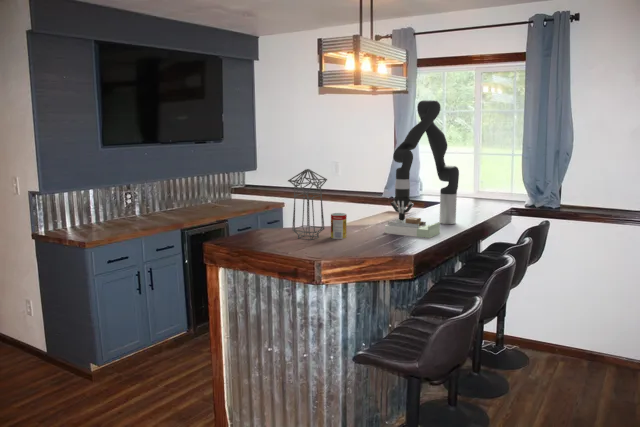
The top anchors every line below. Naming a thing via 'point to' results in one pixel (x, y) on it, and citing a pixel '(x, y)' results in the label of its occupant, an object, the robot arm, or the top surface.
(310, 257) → the top surface
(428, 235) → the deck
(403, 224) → the channel rails
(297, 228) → the geometric lantern
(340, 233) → the canned food
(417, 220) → the walnut block
